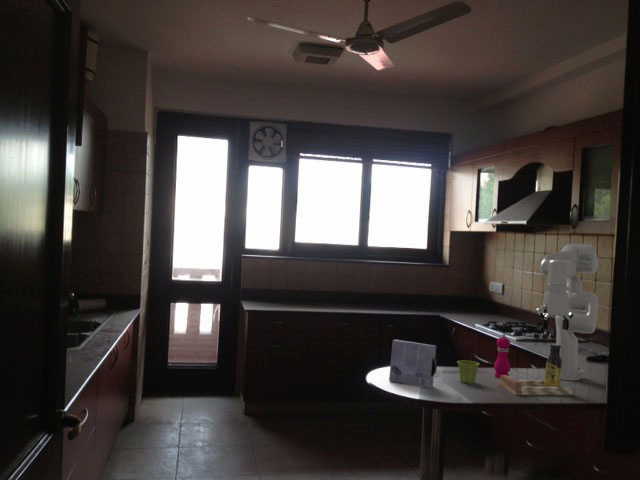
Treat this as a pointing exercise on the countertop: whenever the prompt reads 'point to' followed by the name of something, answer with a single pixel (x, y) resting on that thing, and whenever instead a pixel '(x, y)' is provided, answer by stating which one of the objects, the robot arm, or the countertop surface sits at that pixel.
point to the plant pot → (467, 371)
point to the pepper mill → (502, 357)
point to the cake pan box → (413, 363)
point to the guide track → (531, 387)
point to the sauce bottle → (553, 367)
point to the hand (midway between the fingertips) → (555, 329)
